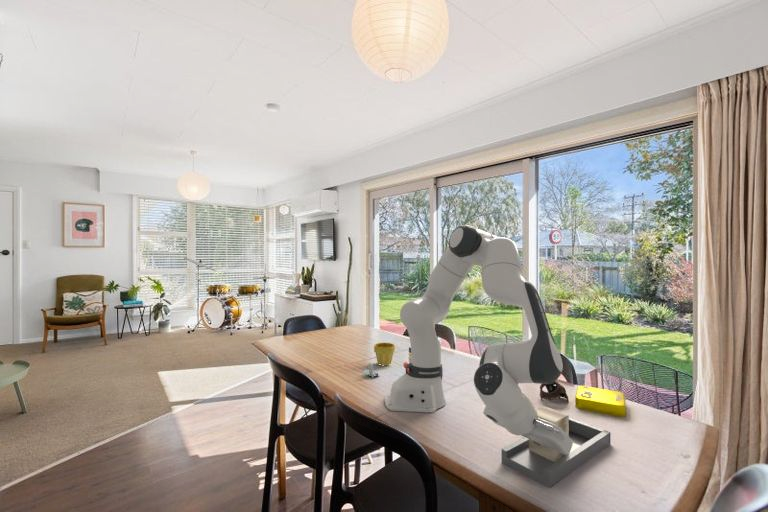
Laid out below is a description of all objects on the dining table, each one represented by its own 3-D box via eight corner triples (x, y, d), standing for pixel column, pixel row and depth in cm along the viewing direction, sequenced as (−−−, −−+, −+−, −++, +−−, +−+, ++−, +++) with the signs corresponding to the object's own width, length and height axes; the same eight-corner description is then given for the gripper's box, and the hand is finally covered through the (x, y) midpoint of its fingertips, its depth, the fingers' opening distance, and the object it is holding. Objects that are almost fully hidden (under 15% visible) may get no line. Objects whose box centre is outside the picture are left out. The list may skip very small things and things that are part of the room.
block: (554, 462, 90) (554, 422, 90) (529, 450, 95) (528, 412, 95) (568, 453, 94) (568, 415, 94) (543, 442, 100) (543, 406, 100)
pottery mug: (575, 406, 129) (566, 388, 128) (550, 416, 131) (541, 398, 129) (560, 386, 141) (553, 369, 139) (538, 395, 142) (530, 379, 141)
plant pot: (394, 367, 174) (394, 347, 174) (373, 367, 174) (373, 347, 175) (394, 361, 185) (394, 342, 185) (374, 361, 185) (374, 342, 185)
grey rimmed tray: (549, 488, 83) (549, 472, 83) (501, 462, 93) (501, 448, 93) (610, 444, 102) (610, 432, 102) (565, 427, 113) (565, 415, 113)
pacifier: (371, 373, 167) (362, 375, 163) (371, 359, 167) (362, 362, 163) (382, 376, 162) (373, 379, 158) (383, 362, 162) (374, 365, 158)
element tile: (626, 419, 118) (626, 405, 118) (574, 409, 126) (574, 396, 126) (624, 404, 131) (624, 391, 131) (578, 395, 139) (578, 383, 139)
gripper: (564, 417, 80) (585, 448, 85) (488, 390, 96) (510, 417, 102) (553, 444, 77) (576, 473, 83) (477, 411, 94) (501, 437, 99)
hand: (539, 442), depth 92 cm, fingers closed
